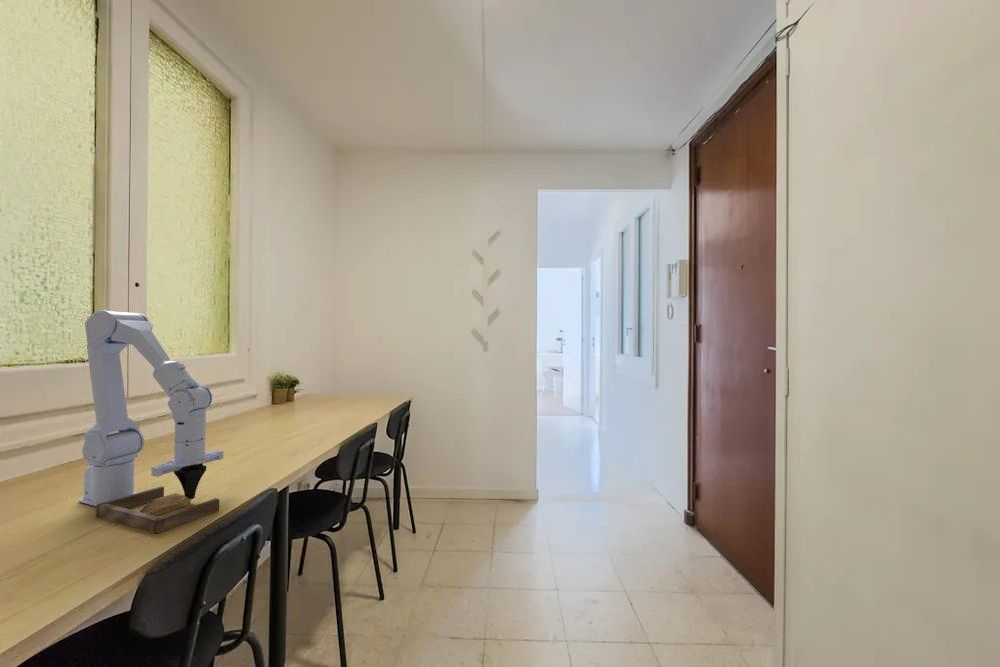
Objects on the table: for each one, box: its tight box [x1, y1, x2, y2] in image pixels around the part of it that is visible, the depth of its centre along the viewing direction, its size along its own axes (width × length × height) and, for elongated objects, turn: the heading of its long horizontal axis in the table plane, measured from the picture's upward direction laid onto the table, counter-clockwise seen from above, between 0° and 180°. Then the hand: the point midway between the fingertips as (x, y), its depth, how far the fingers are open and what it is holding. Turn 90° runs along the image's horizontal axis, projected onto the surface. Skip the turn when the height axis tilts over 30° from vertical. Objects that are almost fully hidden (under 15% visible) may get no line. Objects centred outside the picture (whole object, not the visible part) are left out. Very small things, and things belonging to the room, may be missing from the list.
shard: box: [139, 492, 192, 516], centre depth 92 cm, size 11×8×2 cm
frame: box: [95, 485, 220, 535], centre depth 90 cm, size 20×12×2 cm, turn 69°
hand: (189, 498), depth 96 cm, fingers closed, pressing on shard
